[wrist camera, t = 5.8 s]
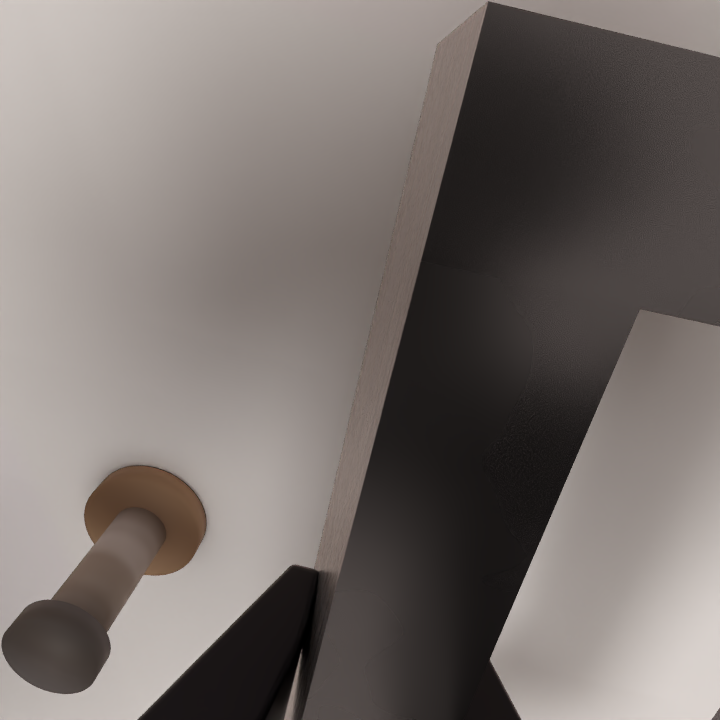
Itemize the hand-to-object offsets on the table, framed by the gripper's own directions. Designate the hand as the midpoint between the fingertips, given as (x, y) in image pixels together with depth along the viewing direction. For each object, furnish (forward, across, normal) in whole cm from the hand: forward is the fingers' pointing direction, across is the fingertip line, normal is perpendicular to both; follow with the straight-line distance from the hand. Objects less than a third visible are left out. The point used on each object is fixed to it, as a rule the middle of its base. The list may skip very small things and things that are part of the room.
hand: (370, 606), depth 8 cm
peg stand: (+10, +7, +8) cm, 15 cm away
